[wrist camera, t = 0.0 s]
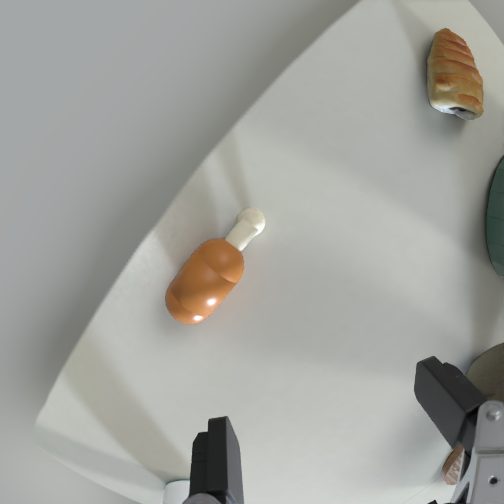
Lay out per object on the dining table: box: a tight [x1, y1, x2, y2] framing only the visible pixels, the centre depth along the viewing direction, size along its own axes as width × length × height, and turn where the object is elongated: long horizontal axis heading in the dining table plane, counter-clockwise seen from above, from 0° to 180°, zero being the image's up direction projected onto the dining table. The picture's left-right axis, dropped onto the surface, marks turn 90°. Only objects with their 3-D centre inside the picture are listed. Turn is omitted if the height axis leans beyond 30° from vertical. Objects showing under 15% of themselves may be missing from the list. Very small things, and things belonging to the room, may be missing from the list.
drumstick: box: [165, 208, 265, 324], centre depth 24 cm, size 11×4×4 cm, turn 140°
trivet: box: [441, 445, 464, 485], centre depth 39 cm, size 25×25×2 cm
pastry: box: [427, 28, 484, 120], centre depth 21 cm, size 9×7×4 cm
